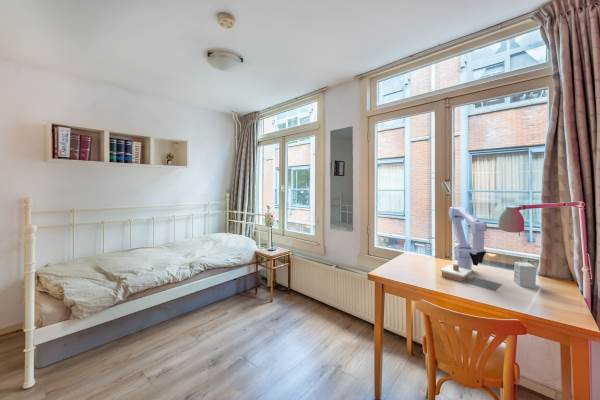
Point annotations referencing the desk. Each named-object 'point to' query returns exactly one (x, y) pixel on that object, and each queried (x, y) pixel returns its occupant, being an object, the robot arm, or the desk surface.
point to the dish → (453, 276)
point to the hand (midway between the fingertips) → (477, 263)
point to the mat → (484, 283)
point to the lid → (456, 270)
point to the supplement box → (524, 274)
